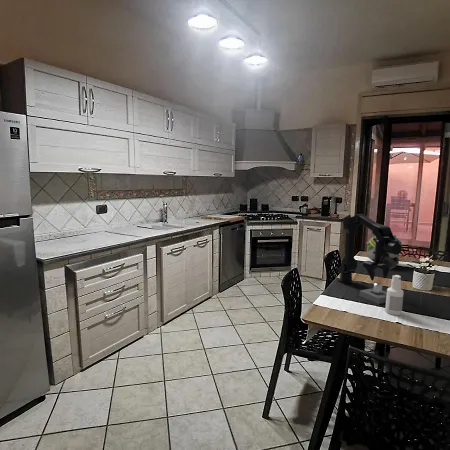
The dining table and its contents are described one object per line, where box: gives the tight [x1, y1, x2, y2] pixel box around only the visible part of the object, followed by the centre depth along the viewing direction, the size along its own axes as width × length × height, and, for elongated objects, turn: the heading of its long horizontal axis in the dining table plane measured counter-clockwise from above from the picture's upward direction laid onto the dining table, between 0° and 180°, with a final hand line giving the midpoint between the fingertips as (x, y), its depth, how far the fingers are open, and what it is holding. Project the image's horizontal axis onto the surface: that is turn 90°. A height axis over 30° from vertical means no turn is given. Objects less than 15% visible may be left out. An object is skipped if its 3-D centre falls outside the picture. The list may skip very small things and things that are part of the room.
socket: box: [358, 287, 387, 305], centre depth 165 cm, size 12×12×3 cm
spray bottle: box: [384, 274, 404, 316], centre depth 146 cm, size 7×7×18 cm
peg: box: [372, 282, 383, 295], centre depth 165 cm, size 4×4×8 cm
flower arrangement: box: [366, 234, 403, 267], centre depth 228 cm, size 25×25×24 cm
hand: (378, 279), depth 164 cm, fingers open, 9 cm apart
